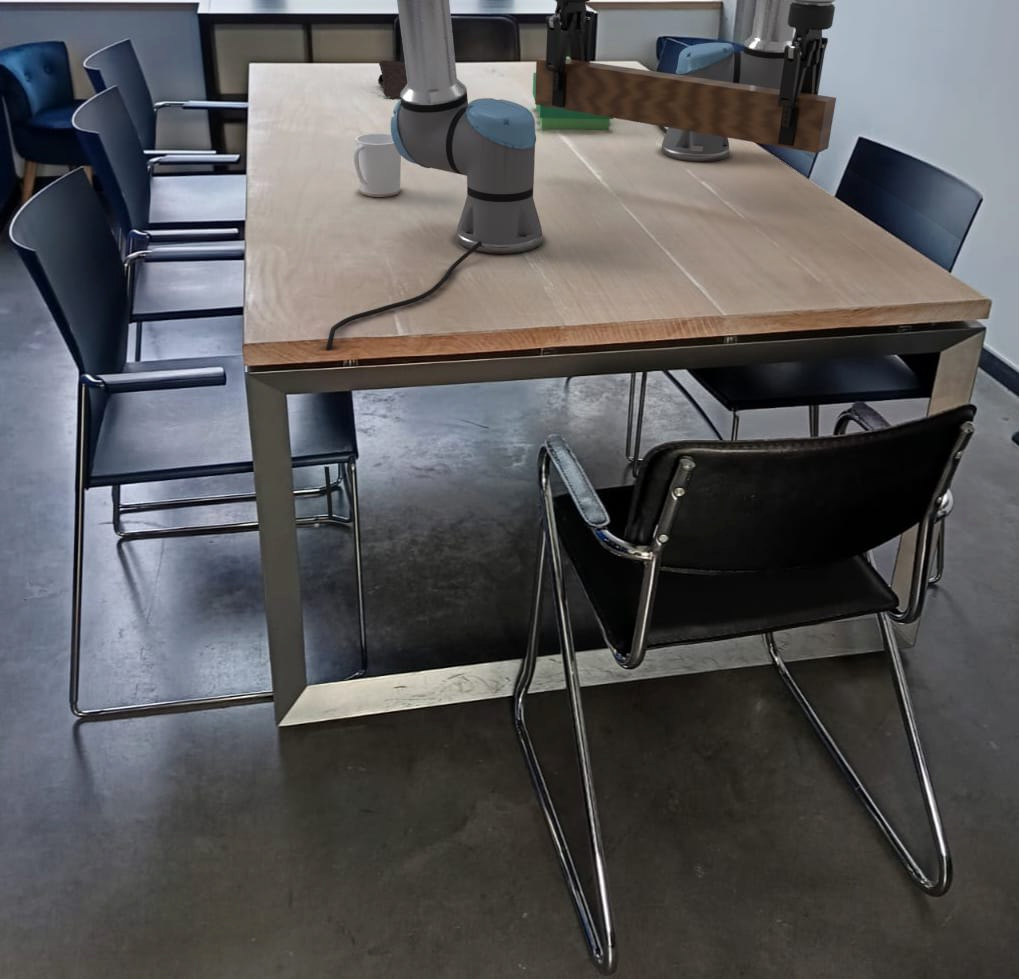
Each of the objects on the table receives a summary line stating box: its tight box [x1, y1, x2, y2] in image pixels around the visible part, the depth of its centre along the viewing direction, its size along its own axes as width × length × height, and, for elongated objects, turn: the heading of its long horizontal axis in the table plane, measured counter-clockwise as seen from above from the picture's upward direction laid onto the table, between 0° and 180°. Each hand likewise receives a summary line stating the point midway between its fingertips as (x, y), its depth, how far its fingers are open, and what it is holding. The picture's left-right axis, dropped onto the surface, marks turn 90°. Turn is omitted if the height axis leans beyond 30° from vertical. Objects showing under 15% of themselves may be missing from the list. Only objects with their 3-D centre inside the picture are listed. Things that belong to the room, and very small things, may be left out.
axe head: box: [377, 59, 407, 99], centre depth 299 cm, size 18×8×15 cm
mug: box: [352, 132, 402, 198], centre depth 216 cm, size 11×9×10 cm
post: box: [534, 56, 837, 154], centre depth 209 cm, size 62×5×9 cm, turn 53°
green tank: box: [532, 56, 614, 131], centre depth 275 cm, size 18×12×35 cm
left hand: (566, 103), depth 223 cm, fingers closed on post, 5 cm apart
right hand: (791, 141), depth 198 cm, fingers closed on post, 5 cm apart
